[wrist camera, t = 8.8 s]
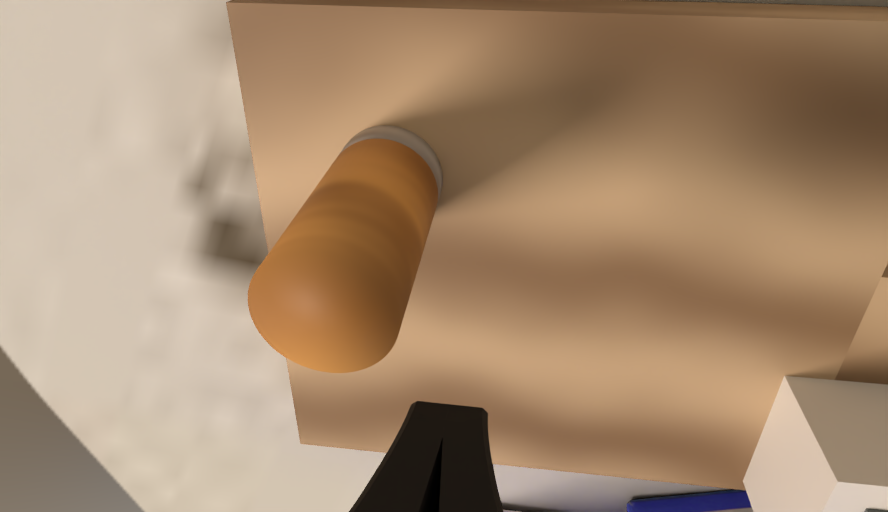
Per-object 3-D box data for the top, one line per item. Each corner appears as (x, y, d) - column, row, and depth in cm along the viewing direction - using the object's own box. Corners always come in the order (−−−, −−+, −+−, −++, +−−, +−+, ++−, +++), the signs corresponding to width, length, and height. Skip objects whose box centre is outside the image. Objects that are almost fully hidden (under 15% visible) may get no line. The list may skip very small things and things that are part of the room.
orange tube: (442, 226, 18) (402, 379, 12) (342, 220, 18) (260, 366, 13) (443, 128, 16) (397, 253, 11) (333, 122, 17) (235, 242, 11)
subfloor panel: (1055, 478, 23) (1099, 529, 21) (316, 406, 25) (299, 445, 24) (1418, 21, 14) (1545, 40, 12) (256, -10, 17) (224, 3, 15)
